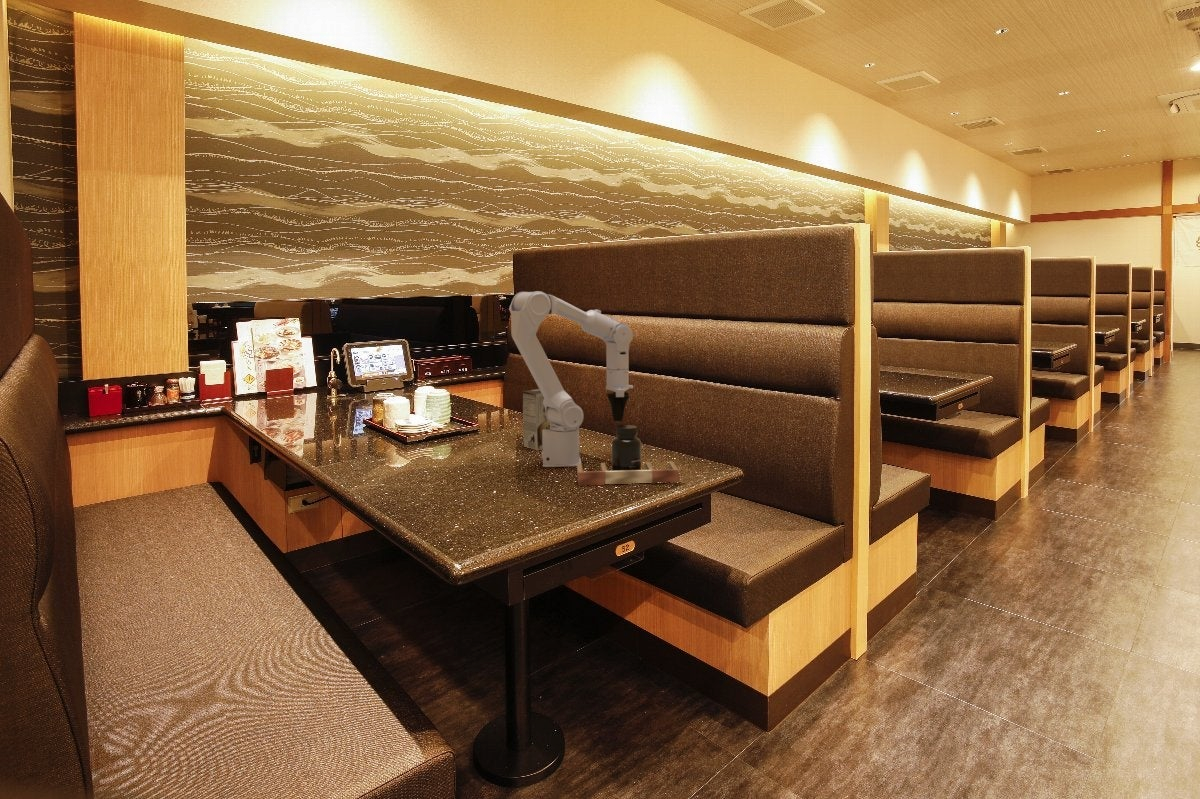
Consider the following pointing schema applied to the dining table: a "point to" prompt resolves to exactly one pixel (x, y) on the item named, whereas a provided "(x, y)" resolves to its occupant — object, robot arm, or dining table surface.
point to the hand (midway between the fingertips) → (617, 420)
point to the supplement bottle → (626, 449)
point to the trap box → (627, 475)
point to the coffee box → (534, 419)
